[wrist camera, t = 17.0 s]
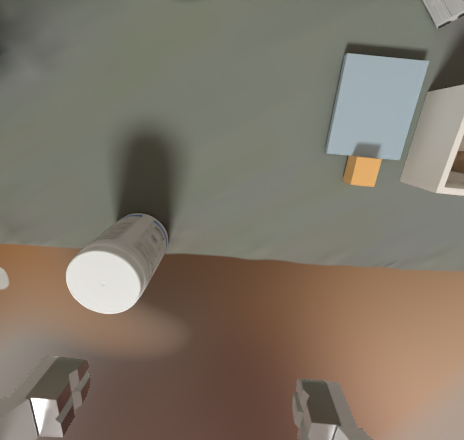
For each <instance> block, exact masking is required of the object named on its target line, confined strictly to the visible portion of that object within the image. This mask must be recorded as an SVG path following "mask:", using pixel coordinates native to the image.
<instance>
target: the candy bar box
mask: <svg viewBox="0 0 464 440" xmlns="http://www.w3.org/2000/svg"><path fill="white" fill-rule="evenodd" d="M422 3H423V5H424V7H425V8H426V10H427V11H428V13H429V15H430V17H431V19H432V21H433V23H434V24H435V26H436V28H437V29H439V28H441V27H443V26H445V25H447V24H449V23H451V22H452V21H454V20H456V19H458V18H460V17H462V16H464V0H422Z"/></svg>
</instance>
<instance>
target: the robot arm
mask: <svg viewBox="0 0 464 440" xmlns="http://www.w3.org/2000/svg"><path fill="white" fill-rule="evenodd" d="M88 368H89V363H88V360H82V359H74V358H65V357H55V356H46V357H44V358H43V359H41V361H40V362H39V363H38V364H37V365H36V366H35V368H34V369H33V370H32V371H31V372H30V373H29V374H28V376H27V377H26V378H25V379H24V380H23V381H22V383H21V384H20V385H19V386H18V387H17V388H16V389H15V391H14V392H13V393H12V394H11V395H10V396H9V397H4V398H2V399H0V440H36V439H37V438H38V436H49V437H64V435H65V433H66V432H67V430H68V428H69V426H70V425H71V423H72V421H73V419H74V417H75V411H74V410H75V409H76V408H78V407H79V406H80V405H82V404H83V402H84V400H85V398H86V396H87V394H88V391H89V388H90V382H91V379H90V375H89V374H88V373H87V372H86V371H87V370H88ZM296 387H297V392H296V393H295V394H294V396H293V417H294V422H295V424H296V425H297V426H298V428H299V432H298V435H297V438H298V440H373V439H372V438H371V437H370V436H369V435H368V434H367V433H366V432H365V431H364V430H363V429H362V428H357V425H356V423H355V420H354V418H353V415H352V413H351V410H350V408H349V406H348V403H347V401H346V398H345V396H344V393H343V391H342V388H341V386H340V384H339V383H338V382H332V381H323V380H310V379H298V380H297V384H296Z"/></svg>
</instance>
